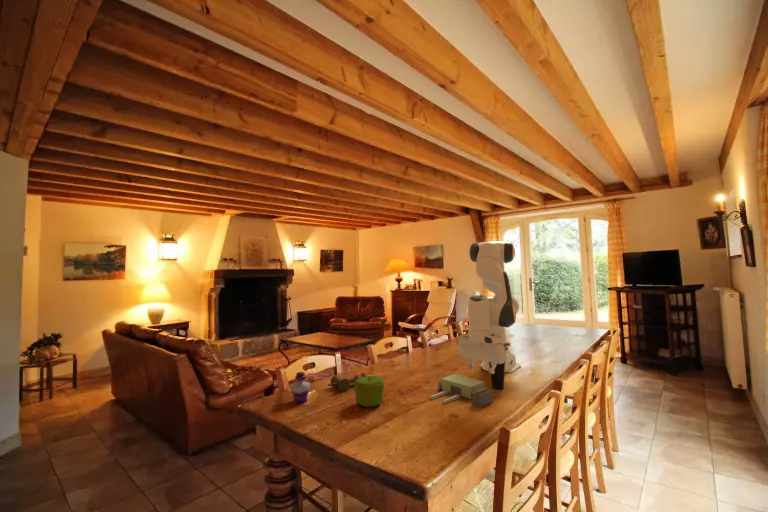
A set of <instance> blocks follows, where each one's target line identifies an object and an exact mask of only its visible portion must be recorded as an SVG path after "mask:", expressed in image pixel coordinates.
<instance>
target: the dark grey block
mask: <svg viewBox="0 0 768 512" xmlns="http://www.w3.org/2000/svg"><path fill="white" fill-rule="evenodd" d="M486 387H487V386H485V388H482V389H479V390H477V391H474V392H472V399H471V405H472V406H473V407H477V408H479V409H482V408H483V407H486V406H488V405H491V404H493V403H494V401H493V400H494V399H493V390H492V389H488V388H489V387H487V388H486Z"/></svg>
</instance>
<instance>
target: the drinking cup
mask: <svg viewBox="0 0 768 512" xmlns="http://www.w3.org/2000/svg"><path fill="white" fill-rule="evenodd" d="M489 365H490V368H491V367H492V365H491V362H489ZM504 369H505V362H504V363H502V364H497V366H496V367H495V369H494V371H495V373H494V374H490V380H491V386H492V389H493V390H498V391H499V390H503V389H505V388H504V385H505V372H504Z"/></svg>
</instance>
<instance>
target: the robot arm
mask: <svg viewBox="0 0 768 512" xmlns="http://www.w3.org/2000/svg"><path fill="white" fill-rule="evenodd" d="M515 254H516V249H515V247H514V244H513V243H512V242H509V241H499V240H497V241H494V240H493V241H492V240H491V241H482V242H479V241H478V242H473V243H472V244H471V245H470V247H469V249H468V255H469V258H470V259H469V260H470V261H472V262H473V263H475V273H476V275H477V276H478V278H479V279H481V280H482V286H483V287H484V289H486V290H487V291H489V292H491V293H493V294H494V295H492V296H485V295H479V294H478V295H472V296H470V297H469V299H468V306H467V318H468V324H469V325H468V334H465V333H462V334H460V335H459V337H458V349H457V350H458V351H457V353H458V355H459V357H463V358H465V361H466V363H467V364H468V369H469V370H474V369H475V364H473V362H472V360H476V361H477V360H478V361H482V363H481V364H480V367H482V370H484V371H487V372H488V374H490V375H491V374H494V373H495V371H494V369H495V367H496V366H497V364H502V363H504V362H505V369H504V373H514V372H516V371H517V370H518V369H519V368H521V364H520V363H517V360H516V355H515V354H514V353H512V352H511V350H509V347H511V342H507V339H506V338H507V337H506V336H507V335H506V328H510V327H512V326H513V325H514V324H515V323H516V320H517V314H518V312H519V310H520V304H519V302H518V300H517V299H516V298H515V297H514V296H513V295H512V289H511V286H510V285H511V284H510V279H509V276H508V273H507V271H505V265H506V264H509V263H511V262H513V260H514V257H515V256H516V255H515ZM489 362H491V365H492V367H491V368H490V365H489Z"/></svg>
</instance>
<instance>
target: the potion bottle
mask: <svg viewBox="0 0 768 512" xmlns="http://www.w3.org/2000/svg"><path fill="white" fill-rule="evenodd" d="M306 377H307V376H306V374H305V371H298V372H296V375H295V379H294V380H295V381H296V382H294V383H291V385H290V390H291V391H290V392H291V394H292V397H293V404H297V405H300V404H305V403H307V402H308V395H309V392H310V388H311V382H308V381H305V380H306V379H307V378H306Z"/></svg>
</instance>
